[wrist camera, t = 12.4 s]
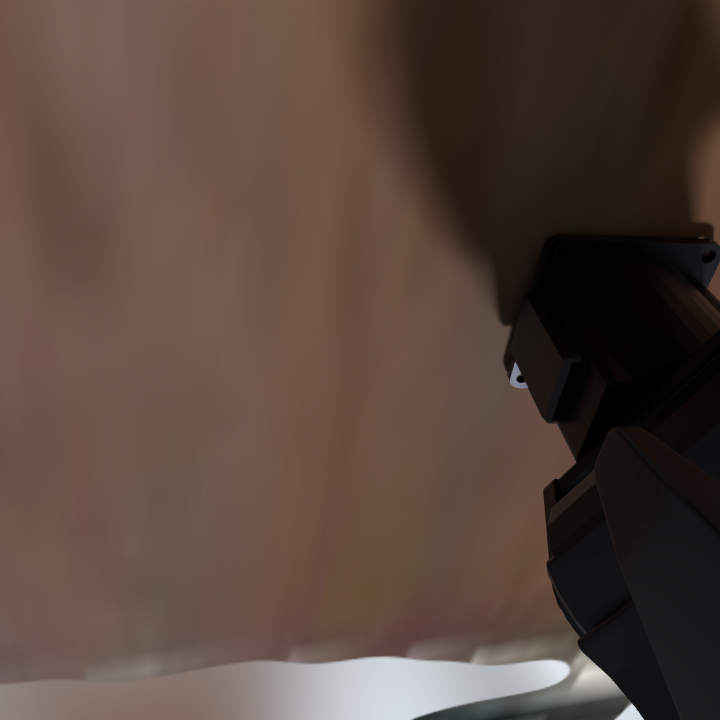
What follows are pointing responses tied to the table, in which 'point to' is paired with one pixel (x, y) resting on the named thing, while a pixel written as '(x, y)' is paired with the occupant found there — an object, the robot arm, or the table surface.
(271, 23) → the table surface
